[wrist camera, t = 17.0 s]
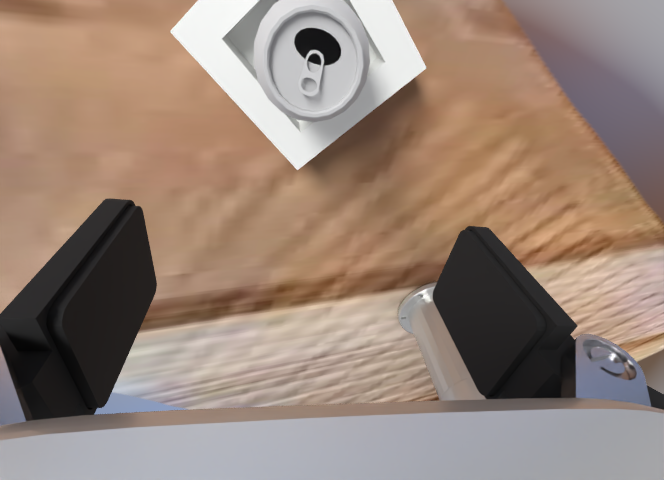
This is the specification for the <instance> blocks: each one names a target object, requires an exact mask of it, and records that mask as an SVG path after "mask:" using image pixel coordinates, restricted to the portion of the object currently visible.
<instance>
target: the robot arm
mask: <svg viewBox="0 0 664 480" xmlns="http://www.w3.org/2000/svg"><path fill="white" fill-rule="evenodd" d="M156 286H157V283H156V276H155V271H154V266H153V261H152V256H151V251H150V246H149V241H148V235H147V230H146V225H145V220H144V215H143V211H142V208H141V207H140V206H135V204H134V202H133V201H132V200H121V199H105V200H104V201H103V202H102V203H101V204H100V205H99V206H98V207H97V209H96V210H95V211H94V212H93V213H92V214H91V215H90V216H89V217H88V218H87V220H86V221H85V222H84V223H83V224H82V225H81V226H80V227H79V228H78V229H77V231H76V232H75V233H74V234H73V235H72V236H71V237H70V238H69V239H68V240H67V241H66V243H65V244H64V245H63V246H62V247H61V248H60V249H59V250H58V251H57V252H56V253H55V255H54V256H53V257H52V258H51V259H50V260H49V261H48V262H47V263H46V264H45V266H44V267H43V268H42V269H41V270H40V271H39V272H38V273H37V274H36V275H35V276H34V278H33V279H32V280H31V281H30V282H29V283H28V284H27V285H26V286H25V287H24V289H23V290H22V291H21V292H20V293H19V294H18V295H17V296H16V297H15V298H14V300H13V301H12V302H11V303H10V304H9V305H8V306H7V307H6V308H5V309H4V310H3V312H2V313H1V314H0V480H664V394H662V393H660V392H658V391H656V390H654V389H652V388H651V387H649V386H647V385H646V380H645V376H644V373H643V371H642V369H641V367H640V366H639V365H638V363H637V362H636V361H635V360H634V359H633V358H632V357H631V356H630V355H629V354H628V353H627V352H626V351H624V350H623V349H622V348H620V347H619V346H617V345H616V344H614V343H612V342H610V341H609V340H607V339H604V338H602V337H599V336H596V335H591V334H582V335H580V336H578V337H577V338H576V339H575V340H574V339H573V337H572V336H571V335H570V334H571V333H572V332H573V331H574V330H575V328H576V327H577V325H576V324H575V322H574V321H573V320H572V319H571V318H570V317H569V316H568V315H567V314H566V313H565V311H564V310H563V309H562V308H561V307H560V306H559V305H558V304H557V303H556V302H555V300H554V299H553V298H552V297H551V296H550V295H549V294H548V293H547V292H546V291H545V289H544V288H543V287H542V286H541V285H540V284H539V283H538V282H537V281H536V280H535V278H534V277H533V276H532V275H531V274H530V273H529V272H528V271H527V270H526V269H525V267H524V266H523V265H522V264H521V263H520V262H519V261H518V260H517V259H516V258H515V256H514V255H513V254H512V253H511V252H510V251H509V250H508V249H507V248H506V246H505V245H504V244H503V243H502V242H501V241H500V240H499V239H498V238H497V237H496V235H495V234H494V233H493V232H492V231H491V230H490V229H489V228H486V227H475V226H469V227H467V228H466V229H465V230H463V231H461V232H460V234H459V236H458V238H457V240H456V242H455V245H454V247H453V249H452V251H451V253H450V256H449V258H448V260H447V262H446V264H445V266H444V269H443V271H442V273H441V275H440V277H439V279H438V282H435V283H431V284H427V285H425V286H422V287H420V288H418V289H416V290H415V291H413V292H412V293H410V294H409V295H408V296H407V297H406V298H405V299H404V300H403V302H402V303H401V305H400V307H399V310H398V319H399V322H400V324H401V326H402V328H404V329H405V330H406V331H408V332H409V333H412V334H414V336H415V338H416V341H417V343H418V346H419V348H420V351H421V354H422V356H423V359H424V361H425V364H426V366H427V369H428V371H429V374H430V376H431V379H432V382H433V384H434V387H435V389H436V392H437V394H438V397H439V399H440V401H415V402H384V403H355V404H326V405H297V406H272V407H246V408H220V409H195V410H171V411H154V412H135V413H116V414H98V415H94V413H95V411H96V409H97V408H102V407H104V406H105V404H106V403H107V401H108V399H109V397H110V394H111V392H112V390H113V388H114V385H115V383H116V381H117V379H118V376H119V374H120V372H121V370H122V367H123V365H124V363H125V360H126V358H127V356H128V354H129V351H130V349H131V347H132V345H133V342H134V340H135V338H136V336H137V333H138V331H139V329H140V327H141V324H142V322H143V320H144V318H145V315H146V313H147V311H148V309H149V306H150V304H151V302H152V300H153V297H154V295H155V292H156Z"/></svg>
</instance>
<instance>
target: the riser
mask: <svg viewBox="0 0 664 480" xmlns="http://www.w3.org/2000/svg"><path fill="white" fill-rule="evenodd" d="M278 1H279V0H198V1H197V2H196V3H195V4H194V6H193V7H192V8H191V9H190V10H189V11H188V12H187V13H186V14H185V15H184V17H183V18H182V19H181V20H180V21H179V22H178V23H177V24H176V25H175V27H174V28H173V29H172V30H171V31H170V32H171V33H172V34H173V35H174V36H175V38H176V39H177V40H178V41H179V42H180V43H181V44H182V45H183V46H184V47H185V48H186V49H187V51H188V52H189V53H190V54H191V55H192V56H193V57H194V58H195V59H196V60H197V61H198V63H199V64H200V65H201V66H202V67H203V68H204V69H205V70H206V71H207V72H208V73H209V74H210V76H211V77H212V78H213V79H214V80H215V81H216V82H217V83H218V84H219V85H220V86H221V88H222V89H223V90H224V91H225V92H226V93H227V94H228V95H229V96H230V97H231V98H232V99H233V101H234V102H235V103H236V104H237V105H238V106H239V107H240V108H241V109H242V110H243V111H244V113H245V114H246V115H247V116H248V117H249V118H250V119H251V120H252V121H253V122H254V123H255V124H256V126H257V127H258V128H259V129H260V130H261V131H262V132H263V133H264V134H265V135H266V136H267V138H268V139H269V140H270V141H271V142H272V143H273V144H274V145H275V146H276V147H277V148H278V149H279V151H280V152H281V153H282V154H283V155H284V156H285V157H286V158H287V159H288V160H289V161H290V163H291V164H292V165H293V166H294V167H295V168H296V169H297V170H298V169H300V168H301V167H302V166H303V165H305V164H306V163H307V162H308V161H310V160H311V159H312V158H313V157H315V156H316V155H317V154H319V153H320V152H321V151H322V150H324V149H325V148H326V147H327V146H329V145H330V144H331V143H332V142H334V141H335V140H336V139H337V138H339V137H340V136H341V135H343V134H344V133H345V132H346V131H348V130H349V129H350V128H351V127H353V126H354V125H355V124H356V123H358V122H359V121H360V120H361V119H363V118H364V117H365V116H367V115H368V114H369V113H370V112H372V111H373V110H374V109H375V108H377V107H378V106H379V105H380V104H382V103H383V102H384V101H385V100H387V99H388V98H389V97H391V96H392V95H393V94H394V93H396V92H397V91H398V90H399V89H401V88H402V87H403V86H404V85H406V84H407V83H408V82H410V81H411V80H412V79H413V78H415V77H416V76H417V75H418V74H420V73H421V72H422V71H423V70H425V69H426V66H425V64H424V62H423V60H422V58H421V56H420V54H419V52H418V50H417V48H416V46H415V44H414V42H413V40H412V38H411V36H410V34H409V32H408V30H407V29H406V27H405V25H404V23H403V21H402V19H401V17H400V15H399V13H398V11H397V9H396V7H395V5H394V3H393V1H392V0H341V1H343V2H345V3H346V4H348V5H349V7H350V8H351V9H352V10H353V12H354V13H355V14H356V16H357V17H358V18H359V19H360V21H361V23H362V25H363V28H364V31H365V33H366V36H367V39H368V41H369V54H370V65H369V70H368V75H367V80H366V83H365V85H364V87H363V89H362V91H361V93H360V95H359V97H358V98H357V99H356V100H355V102H354V103H353V104H352V105H351V106H350V107H349V108H348V109H347V110H346V111H345V112H343V113H341V114H339V115H337V116H335V117H334V118H332V119H329V120H323V121H318V122H309V121H302V120H297V119H295V118H293V117H291V116H289V115H287V114H285V113H283V112H281V111H280V110H279V109H278V108H277V107H276V106H275V105H274V104H273V103H272V102H271V101H270V100H269V99H268V98H267V96H266V94H265V93H264V91H263V89H262V87H261V86H260V84H259V82H258V78H257V74H256V70H255V66H254V41H255V38H256V35H257V32H258V29H259V26H260V22H261V21H262V19H263V18H264V16H265V15H266V14H267V12H268V11H269V10H270V8H271V7H272V6H273V4H275V3H276V2H278Z"/></svg>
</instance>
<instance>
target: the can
mask: <svg viewBox="0 0 664 480" xmlns="http://www.w3.org/2000/svg"><path fill="white" fill-rule="evenodd" d="M369 65H370V54H369V41H368V39H367V36H366V33H365V31H364V28H363V25H362V23H361V21H360V19H359V18H358V17H357V16H356V14H355V13H354V12H353V10H352V9H351V8H350V7H349V5H348V4H346V3H345V2H343V1H341V0H279V1H278V2H276V3H275V4H273V6H272V7H271V8H270V10H269V11H268V12H267V14H266V15H265V16H264V18H263V19H262V21H261V22H260V26H259V29H258V32H257V35H256V38H255V41H254V66H255V70H256V74H257V78H258V82H259V84H260V86H261V87H262V89H263V91H264V93H265V94H266V96H267V98H268V99H269V100H270V101H271V102H272V103H273V104H274V105H275V106H276V107H277V108H278V109H279V110H280V111H281V112H283V113H285V114H287V115H289V116H291V117H293V118H295V119H297V120H302V121H309V122H318V121H323V120H329V119H332V118H334V117H335V116H337V115H339V114H341V113H343V112H345V111H346V110H347V109H348V108H349V107H350V106H351V105H352V104H353V103H354V102H355V100H356V99H357V98H358V97H359V95H360V93H361V91H362V89H363V87H364V85H365V83H366V80H367V75H368V70H369Z"/></svg>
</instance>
